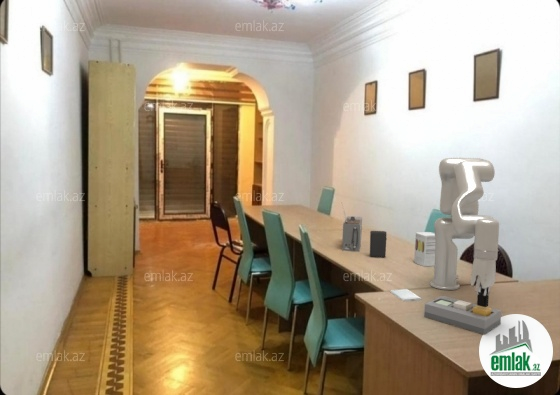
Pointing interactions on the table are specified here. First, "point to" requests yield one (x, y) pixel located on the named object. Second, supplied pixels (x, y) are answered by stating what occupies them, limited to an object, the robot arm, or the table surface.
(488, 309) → the amber key
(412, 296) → the hard drive
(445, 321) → the key console
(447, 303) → the sage key
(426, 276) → the table surface
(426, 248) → the supplement box
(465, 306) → the middle key
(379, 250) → the card reader
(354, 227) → the portable television
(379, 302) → the table surface
